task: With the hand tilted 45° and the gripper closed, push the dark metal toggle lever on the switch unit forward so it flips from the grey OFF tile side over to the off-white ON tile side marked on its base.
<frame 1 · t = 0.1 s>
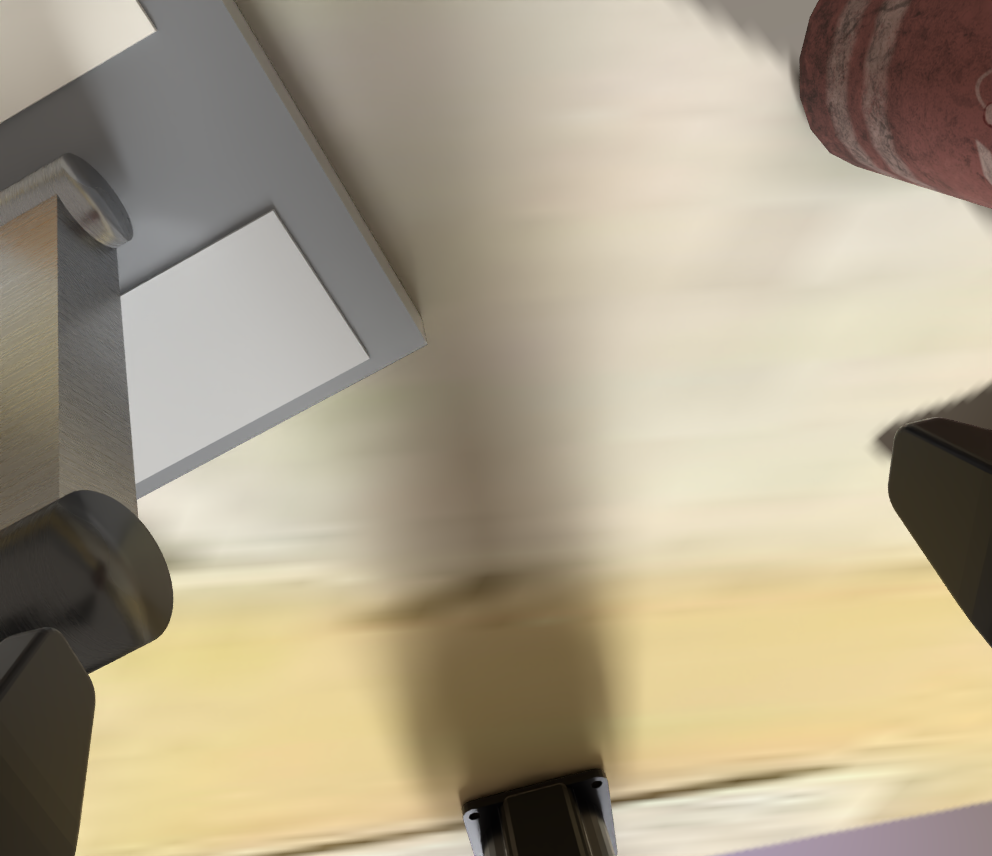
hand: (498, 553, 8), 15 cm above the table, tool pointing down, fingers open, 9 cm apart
can: (892, 51, 21), on the table
switch base: (45, 221, 19), on the table
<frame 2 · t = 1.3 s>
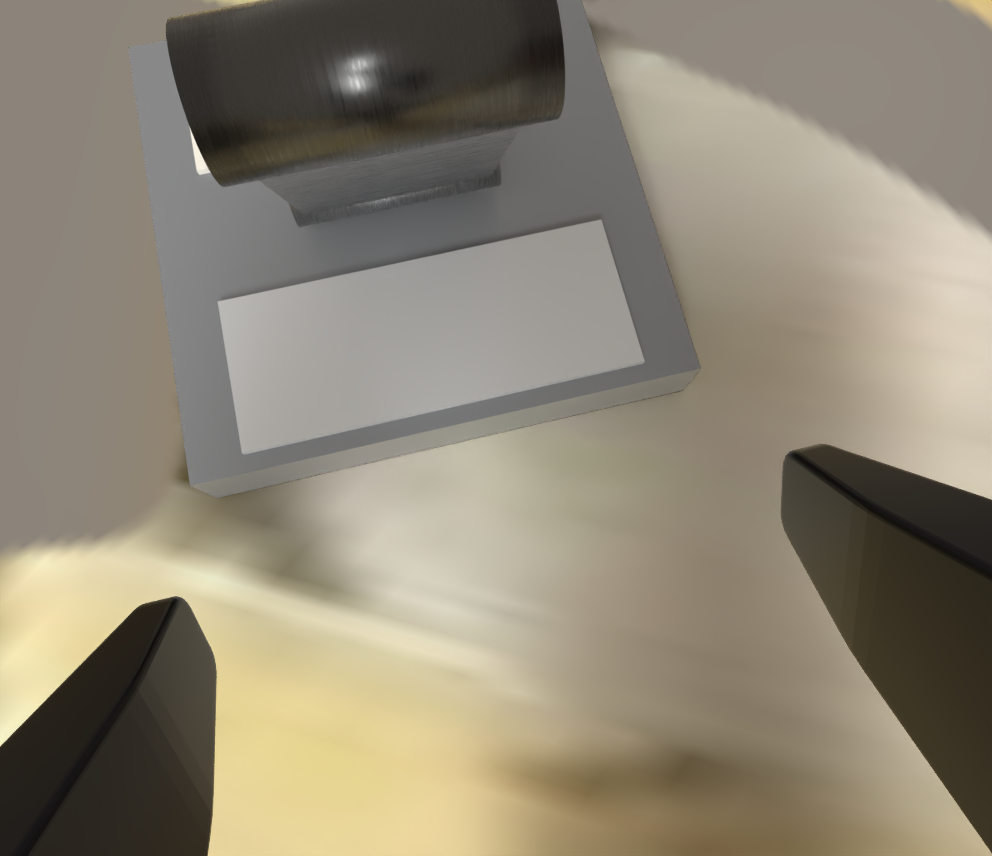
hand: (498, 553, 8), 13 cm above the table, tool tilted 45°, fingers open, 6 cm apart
toggle lever: (385, 132, 16), point 8 cm above the table, hinge at -25.0°
switch base: (405, 233, 24), on the table
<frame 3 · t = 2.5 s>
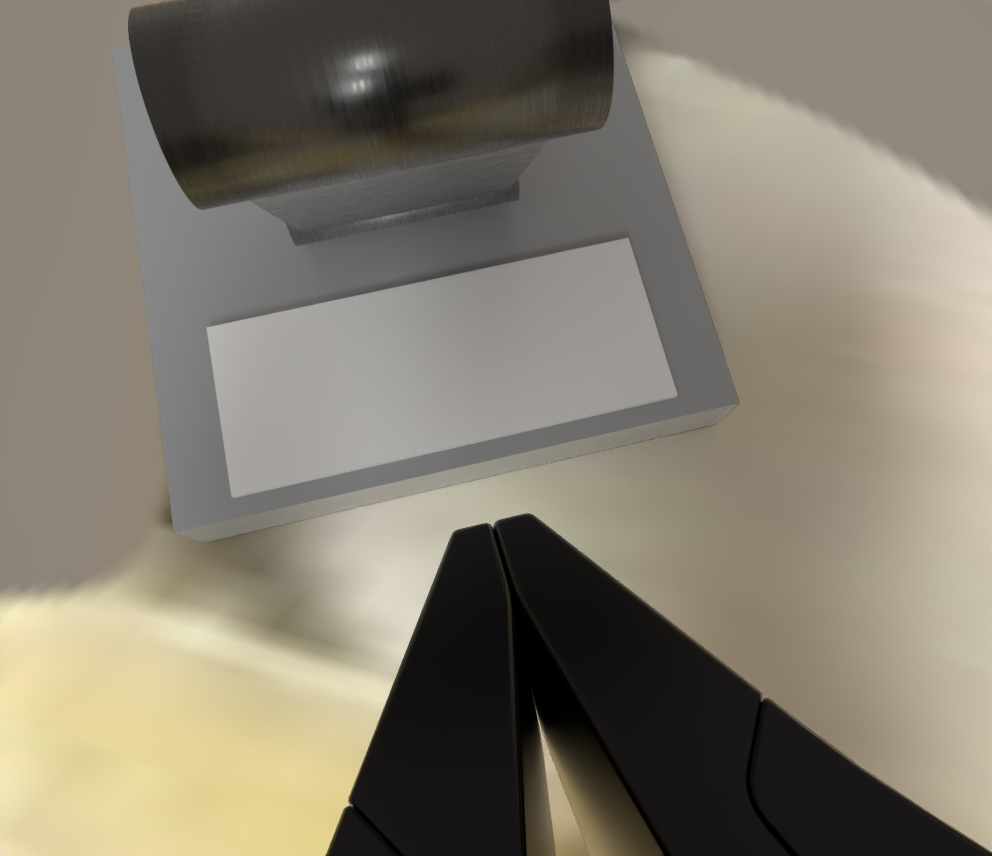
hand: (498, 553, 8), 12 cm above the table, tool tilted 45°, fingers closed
toggle lever: (393, 143, 14), point 8 cm above the table, hinge at -25.0°
switch base: (413, 251, 22), on the table
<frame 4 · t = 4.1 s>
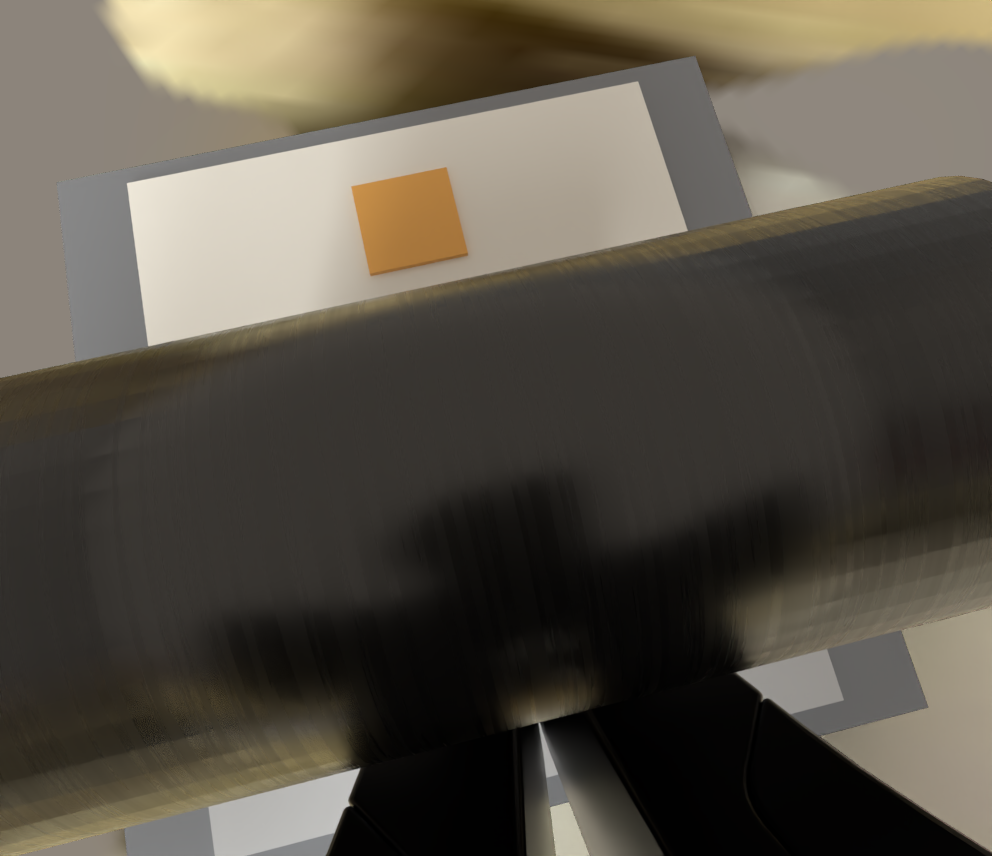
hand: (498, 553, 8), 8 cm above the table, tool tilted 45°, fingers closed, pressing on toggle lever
toggle lever: (464, 424, 9), point 8 cm above the table, hinge at -20.4°, touching gripper
switch base: (459, 446, 17), on the table
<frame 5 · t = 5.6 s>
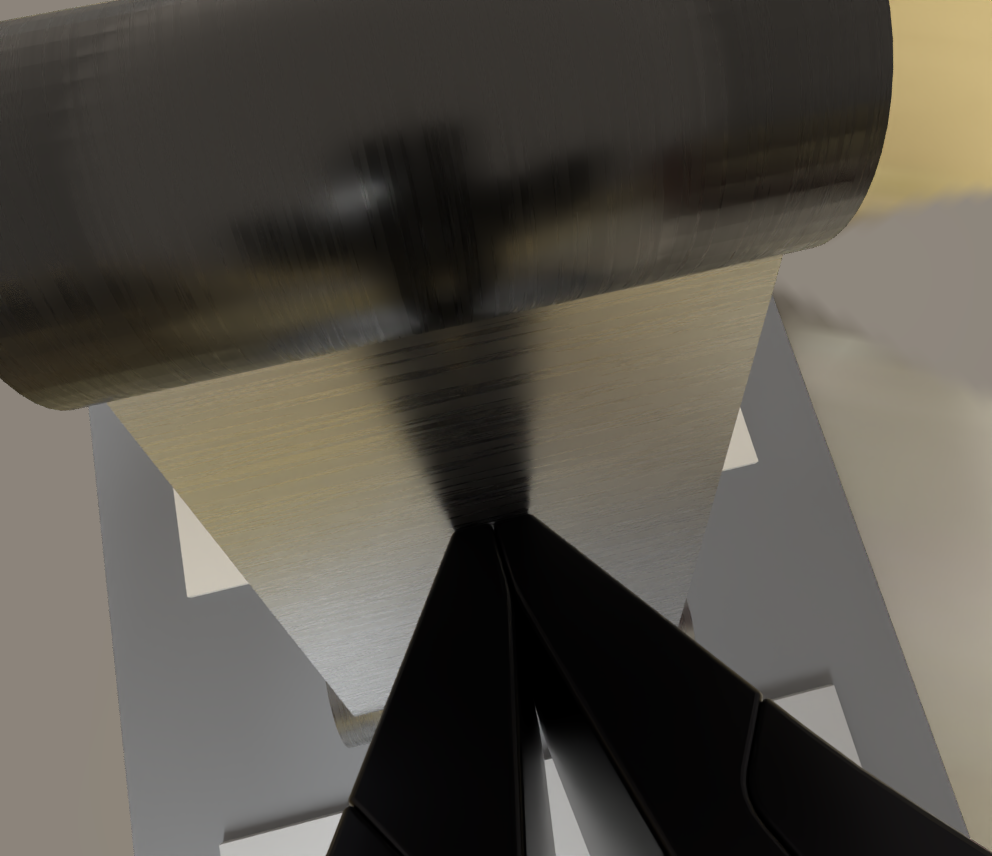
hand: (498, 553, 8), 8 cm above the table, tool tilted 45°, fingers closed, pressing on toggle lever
toggle lever: (480, 492, 9), point 8 cm above the table, hinge at 22.2°, touching gripper
switch base: (504, 639, 16), on the table
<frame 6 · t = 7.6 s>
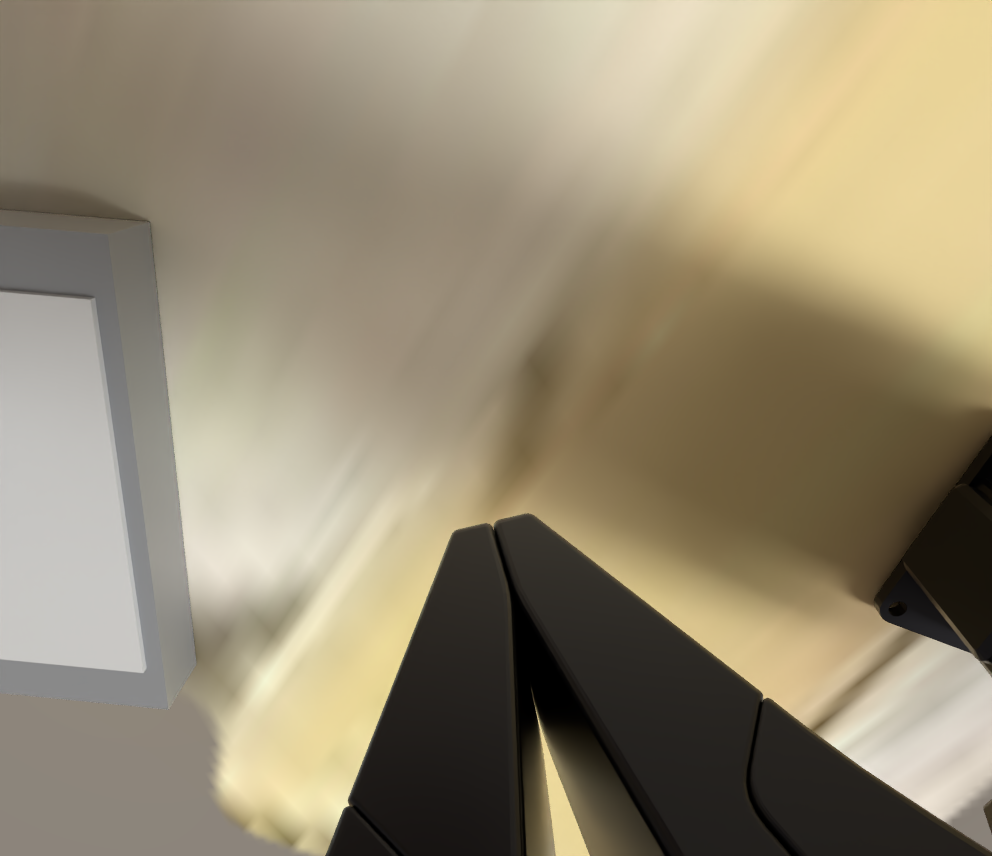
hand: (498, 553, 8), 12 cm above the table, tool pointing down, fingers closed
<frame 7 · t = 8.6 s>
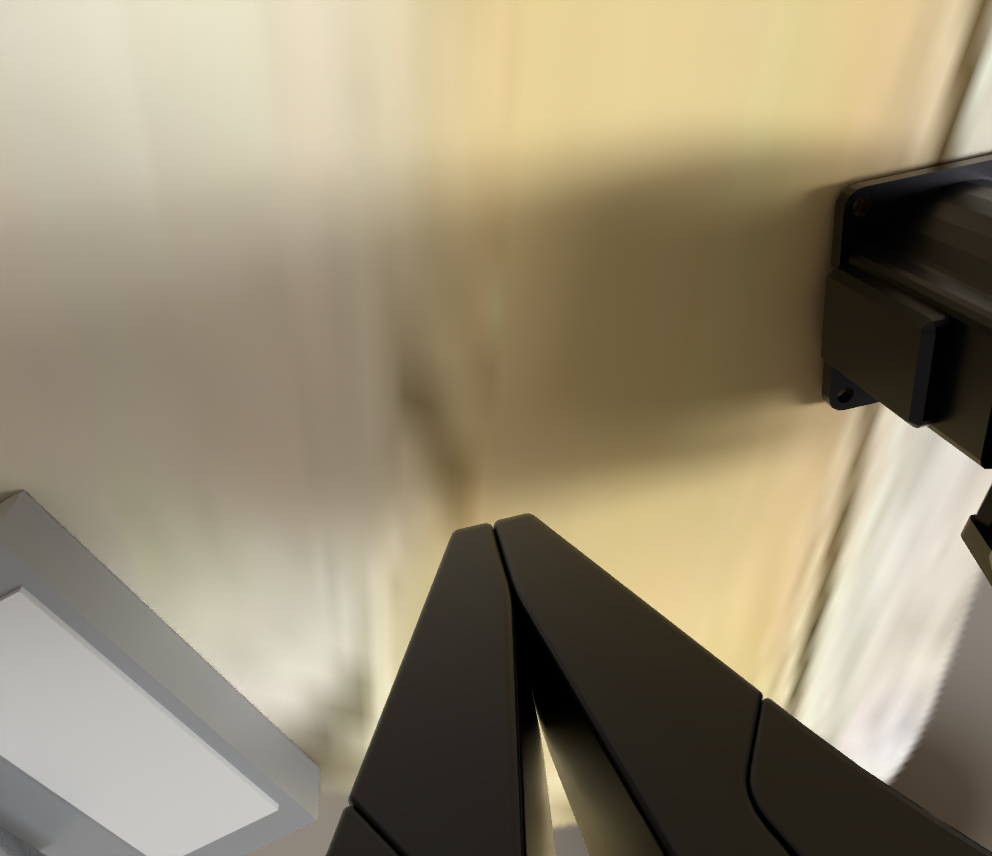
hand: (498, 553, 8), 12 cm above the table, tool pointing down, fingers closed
switch base: (5, 746, 24), on the table
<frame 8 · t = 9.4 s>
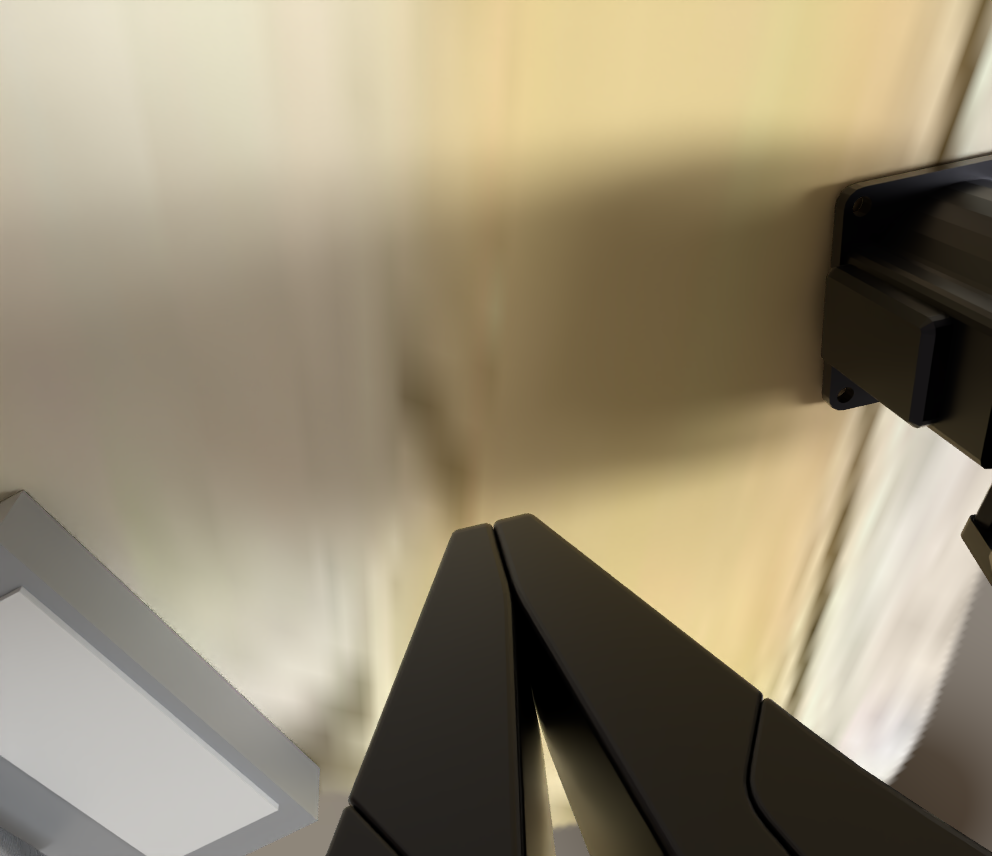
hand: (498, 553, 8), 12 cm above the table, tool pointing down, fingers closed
switch base: (5, 746, 24), on the table
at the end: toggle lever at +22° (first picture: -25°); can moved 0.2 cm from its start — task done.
